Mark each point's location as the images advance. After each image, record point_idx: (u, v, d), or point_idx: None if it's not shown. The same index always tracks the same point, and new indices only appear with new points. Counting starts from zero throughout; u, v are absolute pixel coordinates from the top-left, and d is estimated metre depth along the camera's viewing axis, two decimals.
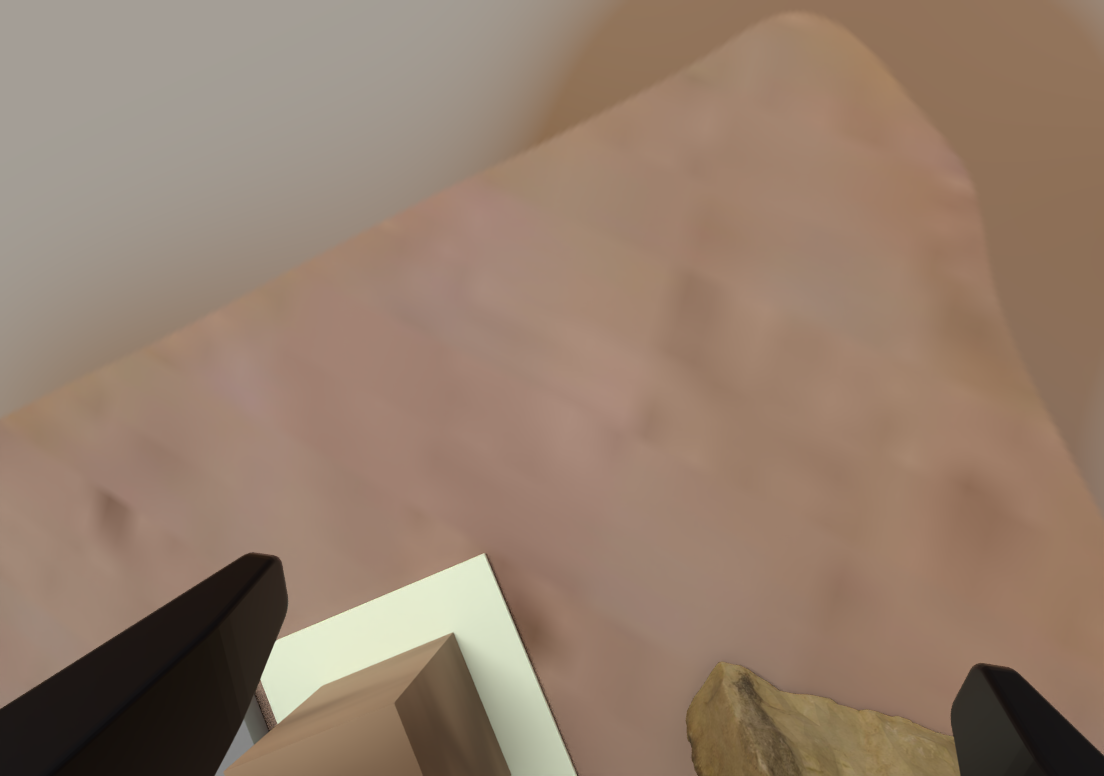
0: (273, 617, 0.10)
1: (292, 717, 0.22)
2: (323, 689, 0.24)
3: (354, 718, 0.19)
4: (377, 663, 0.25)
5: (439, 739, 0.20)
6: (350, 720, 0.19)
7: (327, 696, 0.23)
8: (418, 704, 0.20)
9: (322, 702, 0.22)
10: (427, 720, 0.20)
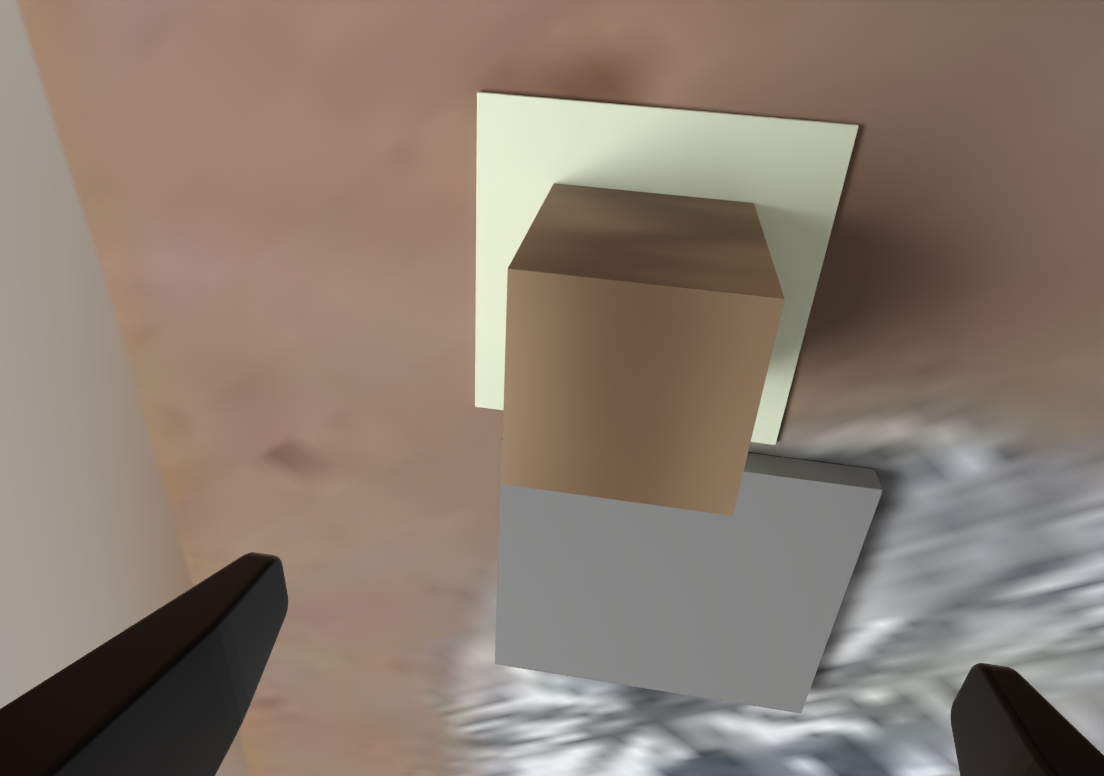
0: (273, 617, 0.10)
1: None
2: None
3: (506, 324, 0.14)
4: None
5: (612, 247, 0.15)
6: (506, 329, 0.14)
7: None
8: (549, 247, 0.15)
9: None
10: (577, 247, 0.15)
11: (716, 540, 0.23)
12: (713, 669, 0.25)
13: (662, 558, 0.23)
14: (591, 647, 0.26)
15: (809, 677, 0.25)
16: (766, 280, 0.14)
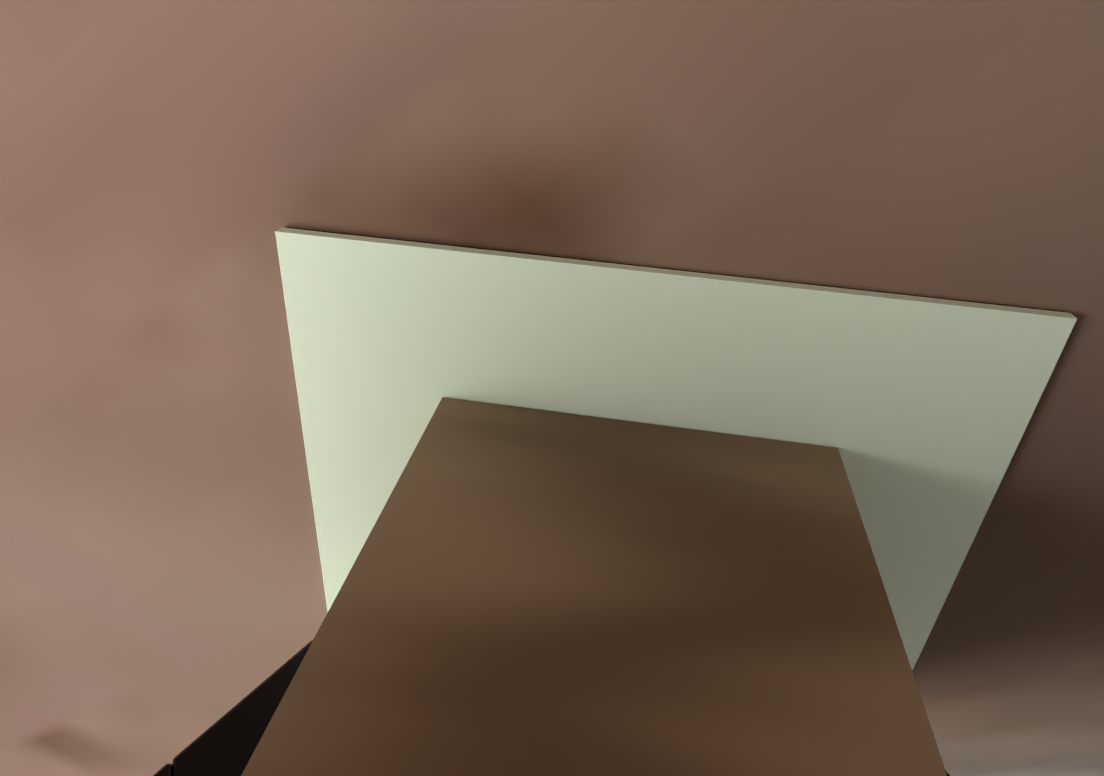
0: None
1: None
2: None
3: None
4: None
5: (519, 705, 0.06)
6: None
7: None
8: (350, 726, 0.05)
9: None
10: (423, 720, 0.06)
11: None
12: None
13: None
14: None
15: None
16: None
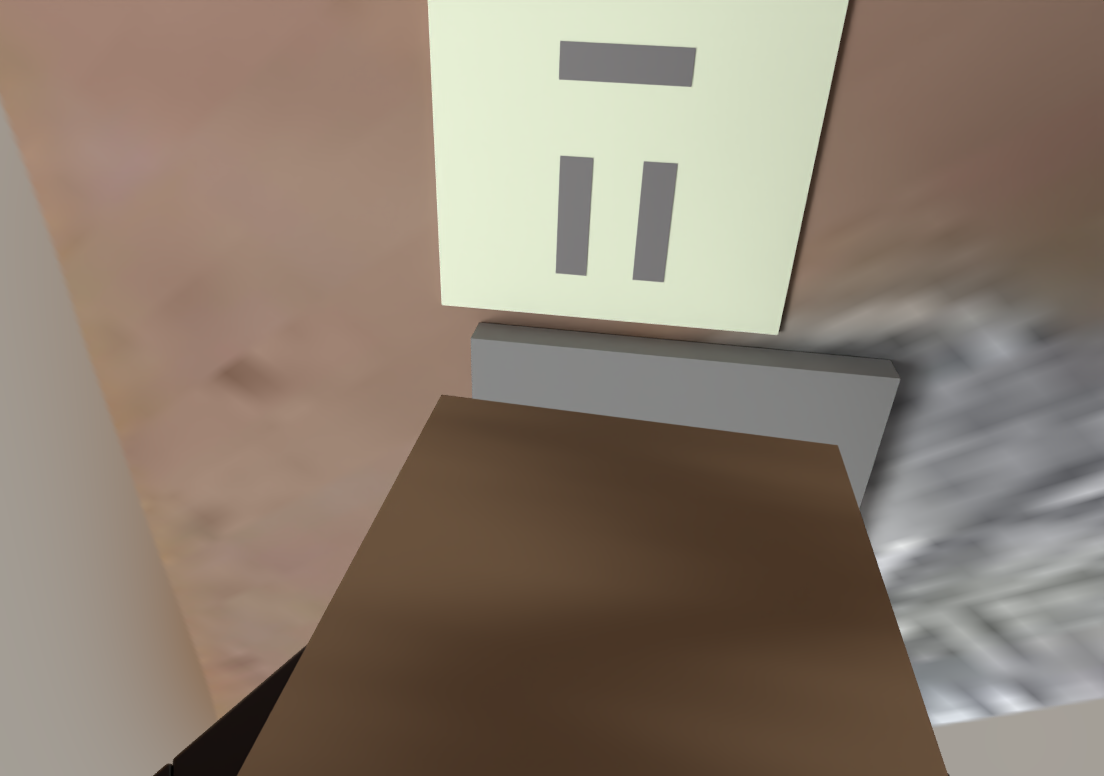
0: None
1: None
2: None
3: None
4: None
5: (518, 700, 0.06)
6: None
7: None
8: (347, 721, 0.05)
9: None
10: (423, 715, 0.06)
11: None
12: None
13: None
14: None
15: None
16: None
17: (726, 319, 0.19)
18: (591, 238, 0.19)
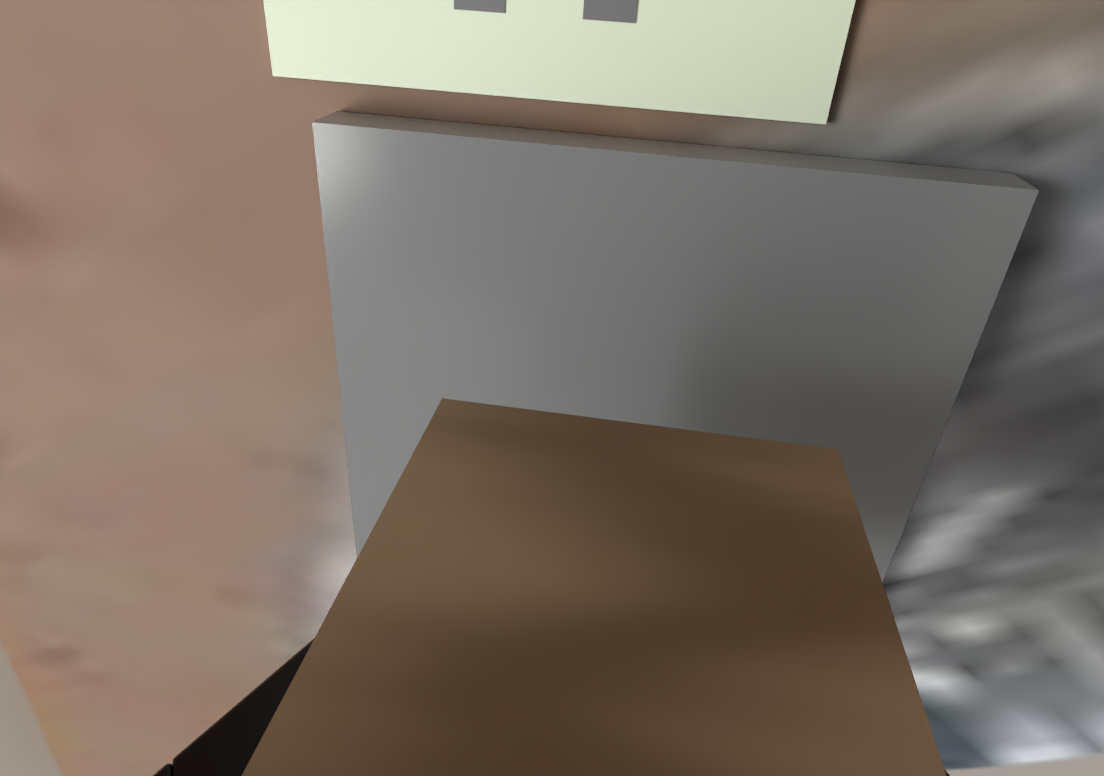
0: None
1: None
2: None
3: None
4: None
5: (518, 705, 0.06)
6: None
7: None
8: (350, 728, 0.05)
9: None
10: (425, 721, 0.06)
11: (714, 324, 0.12)
12: None
13: (618, 367, 0.13)
14: None
15: None
16: None
17: (739, 95, 0.11)
18: None
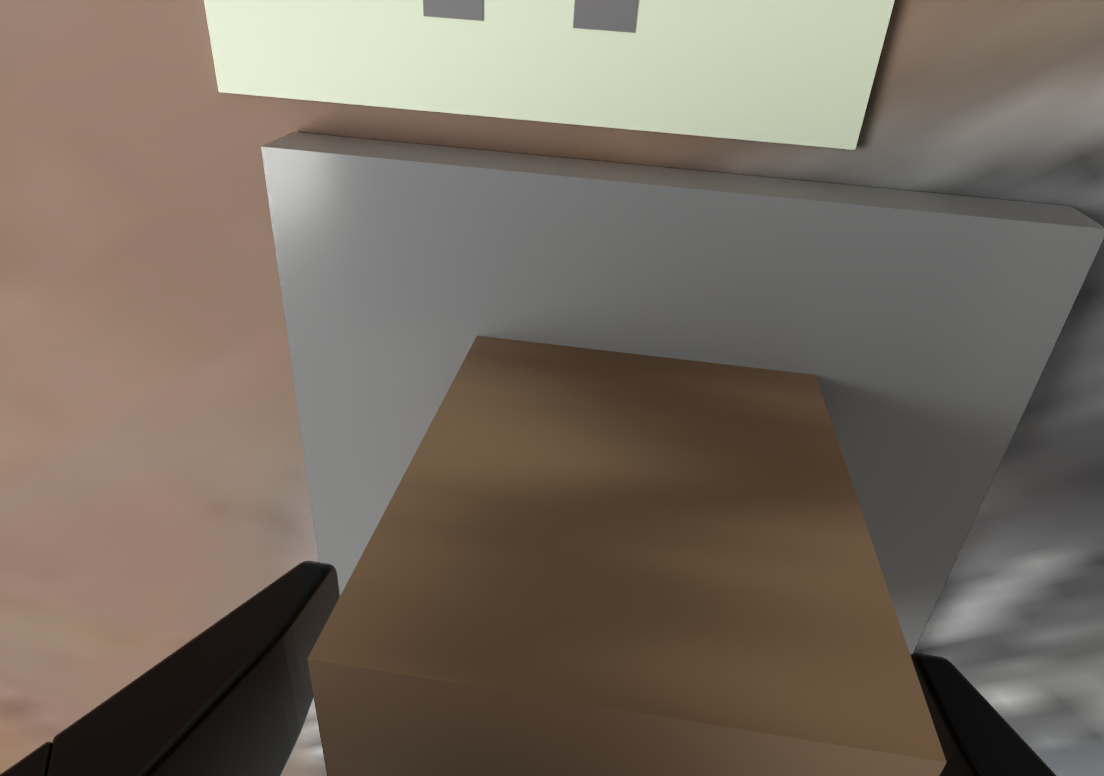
0: None
1: None
2: None
3: (326, 738, 0.07)
4: None
5: (556, 543, 0.07)
6: (326, 749, 0.07)
7: None
8: (425, 554, 0.07)
9: None
10: (483, 552, 0.07)
11: None
12: None
13: None
14: None
15: None
16: (887, 668, 0.06)
17: (755, 116, 0.10)
18: None
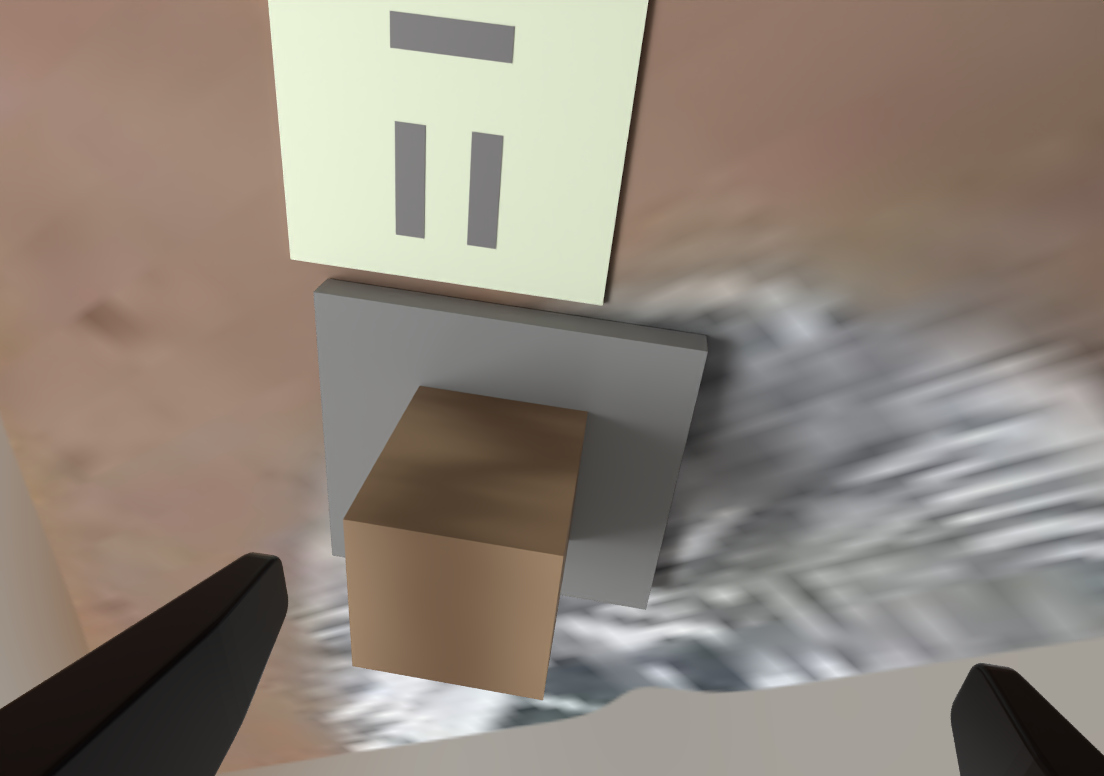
0: (273, 617, 0.10)
1: None
2: None
3: (346, 555, 0.17)
4: None
5: (441, 483, 0.18)
6: (346, 559, 0.17)
7: None
8: (387, 486, 0.18)
9: None
10: (411, 486, 0.18)
11: None
12: None
13: None
14: None
15: (650, 568, 0.24)
16: (557, 530, 0.17)
17: (554, 288, 0.20)
18: (428, 203, 0.20)
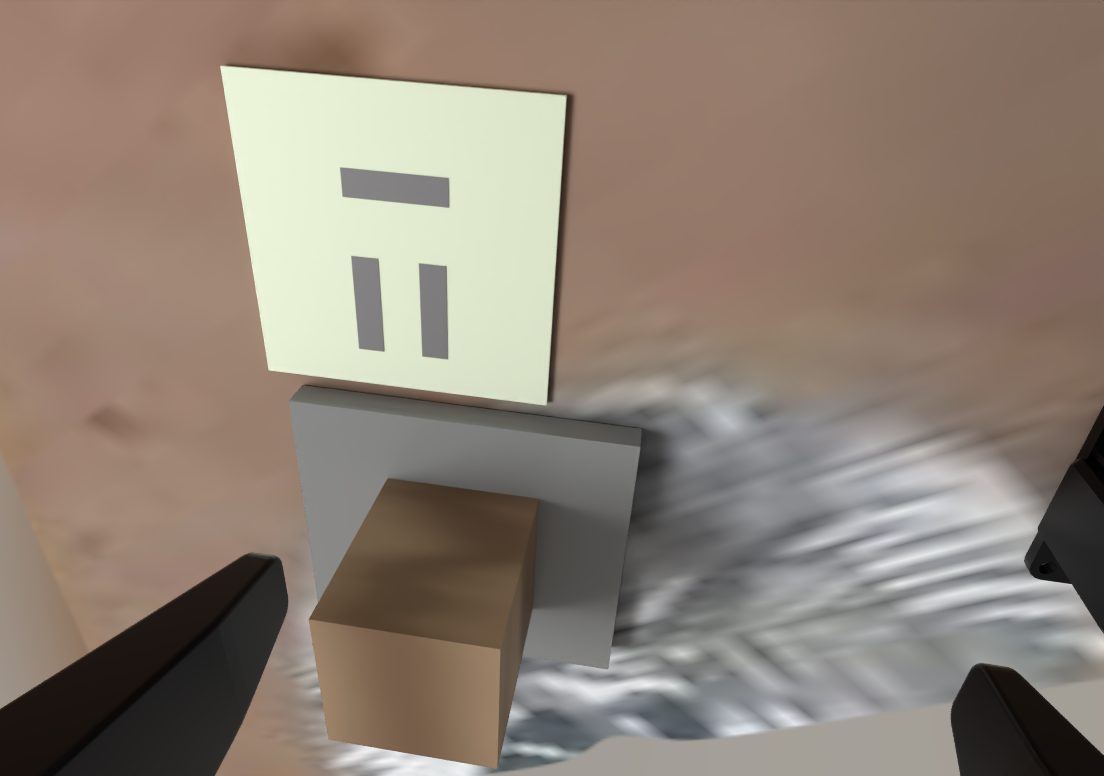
0: (273, 617, 0.10)
1: None
2: None
3: (315, 647, 0.19)
4: None
5: (398, 579, 0.20)
6: (315, 651, 0.20)
7: None
8: (350, 584, 0.20)
9: None
10: (371, 583, 0.20)
11: None
12: None
13: None
14: None
15: (608, 633, 0.26)
16: (497, 623, 0.19)
17: (502, 391, 0.23)
18: (386, 321, 0.22)
